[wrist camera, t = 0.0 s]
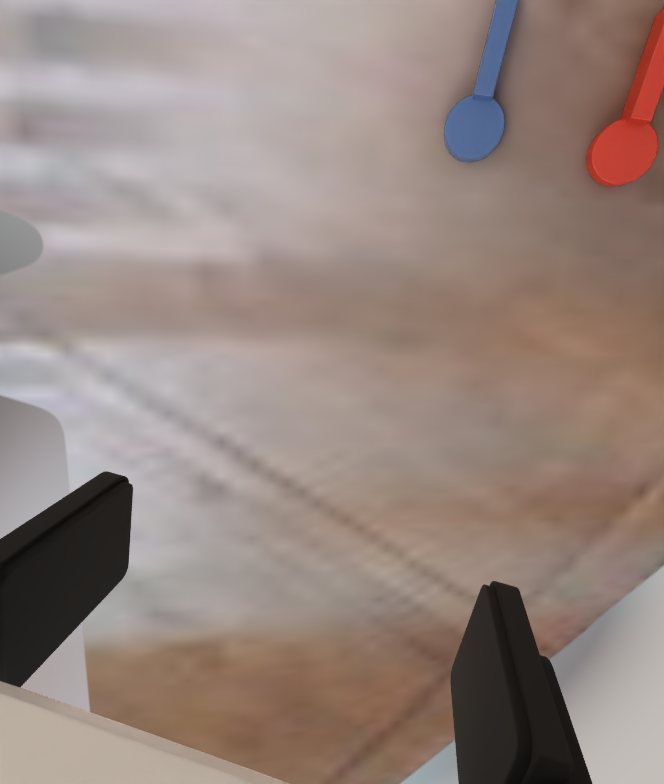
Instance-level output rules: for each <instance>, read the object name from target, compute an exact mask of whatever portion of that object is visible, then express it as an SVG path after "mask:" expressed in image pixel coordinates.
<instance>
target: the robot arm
mask: <svg viewBox="0 0 664 784" xmlns="http://www.w3.org/2000/svg"><path fill="white" fill-rule="evenodd" d="M132 495H133V487H132V485H131V484H129V481H128V478H127V477H125V476H122V475H118V474H114V473H111V472H103V473H101V474H99V475H98V476H96V477H95V478H93V479H92V480H90V481H89V482H87V483H85V484H84V485H82V486H81V487H79V488H78V489H76V490H75V491H73V492H72V493H70V494H69V495H67V496H66V497H64V498H63V499H61V500H59V501H58V502H56V503H55V504H53V505H52V506H50V507H49V508H47V509H46V510H44V511H43V512H41V513H40V514H38V515H37V516H35V517H33V518H32V519H31V520H29V521H27V522H26V523H25V524H23V525H21V526H20V527H18V528H17V529H15V530H14V531H12V532H11V533H9V534H7V535H6V536H4V537H3V538H1V539H0V784H289V783H286V782H284V781H281V780H278V779H275V778H273V777H270V776H267V775H264V774H262V773H259V772H256V771H253V770H251V769H248V768H245V767H242V766H240V765H237V764H234V763H231V762H228V761H226V760H223V759H220V758H217V757H215V756H212V755H209V754H206V753H203V752H201V751H198V750H195V749H192V748H189V747H187V746H184V745H181V744H178V743H175V742H173V741H170V740H167V739H164V738H161V737H159V736H156V735H153V734H150V733H147V732H145V731H142V730H139V729H136V728H133V727H131V726H128V725H125V724H122V723H119V722H117V721H114V720H111V719H108V718H105V717H102V716H99V715H97V714H94V713H91V712H88V711H85V710H82V709H79V708H77V707H74V706H71V705H68V704H65V703H62V702H59V701H56V700H54V699H51V698H48V697H45V696H42V695H40V694H37V693H34V692H31V691H28V690H25V689H22V688H20V687H21V686H22V685H23V684H24V683H25V682H26V681H27V680H28V679H29V677H30V676H31V675H32V674H33V673H34V672H35V671H36V670H37V669H38V668H39V667H40V666H41V665H42V664H43V663H44V662H45V660H46V659H47V658H48V657H49V656H50V655H51V654H52V653H53V652H54V651H55V650H56V649H57V648H58V647H59V645H61V644H62V642H63V641H64V640H65V639H66V638H67V637H68V636H69V635H70V634H71V633H72V632H73V631H74V630H75V629H76V628H77V627H78V626H79V624H80V623H81V622H82V621H83V620H84V619H85V618H86V617H87V616H88V615H89V614H90V613H91V612H92V611H93V610H94V609H95V607H96V606H97V605H98V604H99V603H100V602H101V601H102V600H103V599H104V598H105V597H106V596H107V595H108V594H109V593H110V592H111V591H112V589H113V588H114V587H115V586H116V585H117V584H118V583H119V582H120V581H121V580H122V579H123V577H124V576H125V574H126V572H127V569H128V563H129V546H130V529H131V512H132ZM451 693H452V706H453V718H454V731H455V743H456V755H457V768H458V780H459V784H592V781H591V778H590V775H589V772H588V769H587V767H586V764H585V760H584V758H583V755H582V752H581V749H580V746H579V743H578V740H577V737H576V734H575V731H574V728H573V725H572V722H571V720H570V716H569V713H568V710H567V707H566V704H565V702H564V699H563V696H562V693H561V690H560V687H559V684H558V681H557V678H556V675H555V672H554V669H553V666H552V664H551V662H550V660H549V659H548V658H547V657H545V656H541V655H539V651H538V648H537V645H536V642H535V639H534V636H533V632H532V629H531V626H530V623H529V620H528V617H527V613H526V610H525V607H524V604H523V601H522V598H521V594H520V591H519V589H518V588H517V587H514V586H510V585H507V584H503V583H500V582H496V581H492V582H491V584H490V586H487V585H483V586H482V588H481V590H480V593H479V595H478V598H477V601H476V604H475V606H474V609H473V612H472V614H471V617H470V620H469V623H468V625H467V628H466V631H465V634H464V636H463V639H462V642H461V645H460V647H459V650H458V653H457V655H456V658H455V661H454V664H453V667H452V671H451Z"/></svg>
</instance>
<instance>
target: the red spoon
mask: <svg viewBox="0 0 664 784" xmlns="http://www.w3.org/2000/svg"><path fill="white" fill-rule="evenodd" d="M663 88H664V8H663V9H662V10H661V11H660V12H659V14H658V15H657V16H656V17H655V20H654V23H653V26H652V29H651V32H650V35H649V38H648V41H647V44H646V46H645V49H644V52H643V55H642V58H641V61H640V64H639V67H638V70H637V72H636V75H635V78H634V81H633V84H632V87H631V90H630V93H629V96H628V98H627V101H626V104H625V107H624V110H623V113H622V116H621V119H620V120H618V121H616V122H614V123H612V124H610V125H609V126H608V127H606V128H605V129H604V130H602V131H601V132H600V133H599V134H598V135H597V136H596V137H595V138H594V140H593V141H592V143H591V145H590V147H589V149H588V153H587V158H586V163H587V169H588V171H589V174H590V175H591V177H592V178H593V179H594V180H595V181H596V182H598V183H599V184H602V185H605V186H611V187H613V186H620V185H624V184H626V183H629V182H631V181H634V180H635V179H637V178H639V177H640V176H642V175H643V174H644V173H645V172H646V171H647V170H648V169H649V167H650V166H651V165H652V163H653V161H654V159H655V157H656V154H657V149H658V139H657V135H656V132H655V130H654V129H653V127H652V126H651V125H650V124H649V122H650V121H651V120H652V118H653V115H654V112H655V110H656V107H657V104H658V101H659V99H660V96H661V93H662V90H663Z"/></svg>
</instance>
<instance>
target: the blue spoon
mask: <svg viewBox="0 0 664 784" xmlns="http://www.w3.org/2000/svg"><path fill="white" fill-rule="evenodd" d="M517 3H518V0H496V4H495V8H494V11H493V15H492V19H491V23H490V27H489V31H488V35H487V39H486V43H485V47H484V51H483V55H482V59H481V63H480V67H479V71H478V75H477V79H476V83H475V87H474V91H473V95H471V96H468V97H466V98H464V99H462V100H461V101H459V102H458V103H457V104H456V105H455V106H454V107H453V108H452V110H451V111H450V113H449V115H448V117H447V120H446V124H445V129H444V141H445V145H446V147H447V149H448V151H449V153H450V154H451V155H452V156H453V157H454V158H456V159H458V160H460V161H463V162H476V161H479V160H481V159H483V158H485V157H487V156H488V155H489V154H490V153H491V152H492V151H493V150H494V149H495V147H496V146H497V144H498V143H499V141H500V139H501V137H502V135H503V131H504V125H505V119H504V114H503V111H502V109H501V107H500V105H499V104H498V103H497V102H496V101H495V100H494V99H493V98H492V97H493V94H494V90H495V87H496V83H497V79H498V75H499V71H500V68H501V64H502V60H503V56H504V52H505V49H506V45H507V41H508V37H509V34H510V30H511V26H512V22H513V18H514V15H515V11H516V7H517Z"/></svg>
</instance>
